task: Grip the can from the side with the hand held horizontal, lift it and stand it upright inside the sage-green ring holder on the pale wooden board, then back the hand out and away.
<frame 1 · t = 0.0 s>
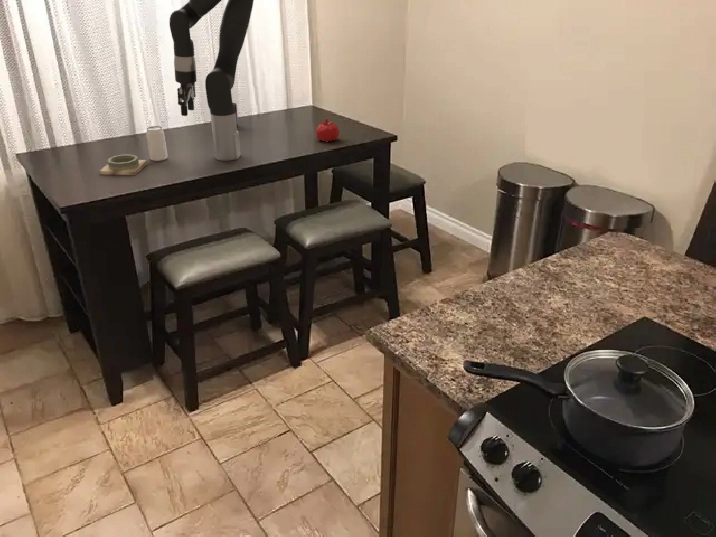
hand: (187, 112, 230), 17 cm above the table, tool pointing down, fingers open, 8 cm apart
can holder: (124, 168, 226), on the table
supplement container: (231, 127, 275), on the table
pomegranate: (327, 140, 259), on the table
can: (159, 159, 236), on the table
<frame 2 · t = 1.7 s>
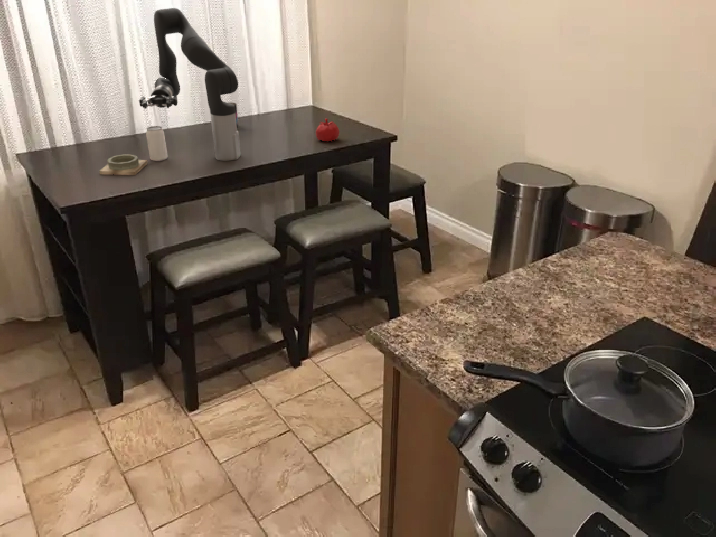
hand: (156, 105, 237), 18 cm above the table, tool horizontal, fingers open, 8 cm apart
nothing on the table moved.
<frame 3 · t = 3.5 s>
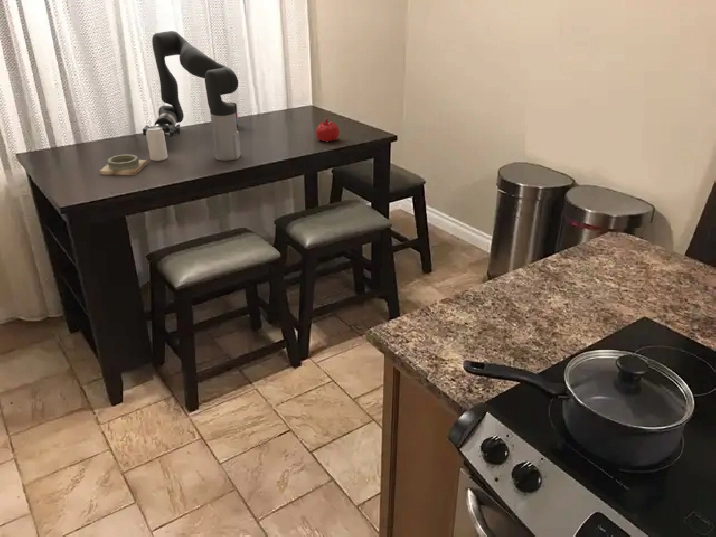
hand: (159, 135, 240), 7 cm above the table, tool horizontal, fingers open, 8 cm apart
nothing on the table moved.
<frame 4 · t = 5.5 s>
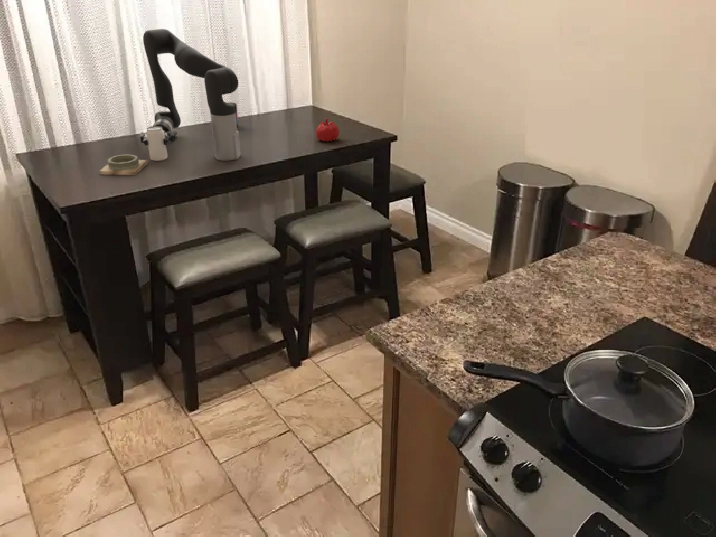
hand: (155, 142, 231), 7 cm above the table, tool horizontal, fingers closed on can, 6 cm apart
can: (159, 159, 236), on the table, touching gripper
everything else where it was.
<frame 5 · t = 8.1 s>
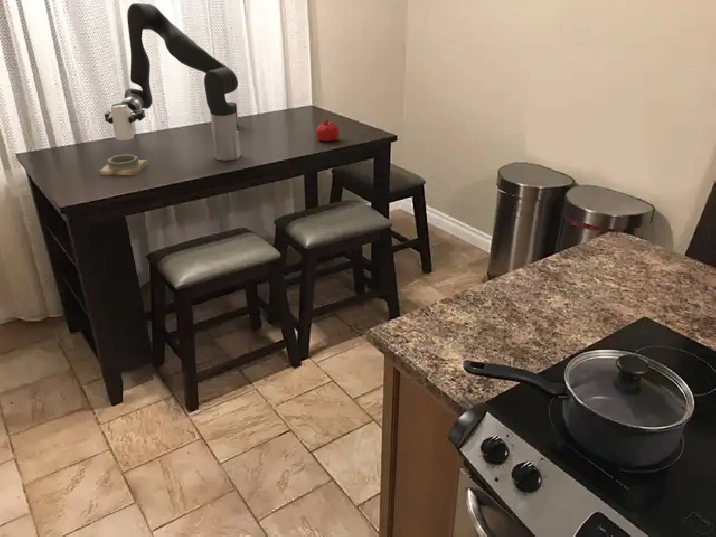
hand: (120, 120, 218), 18 cm above the table, tool horizontal, fingers closed on can, 6 cm apart
can: (125, 138, 223), point 10 cm above the table, touching gripper
everything else where it was.
when the fingers open (9 cm above the table, at t = 10.5 s): can drops 1 cm, resting on can holder.
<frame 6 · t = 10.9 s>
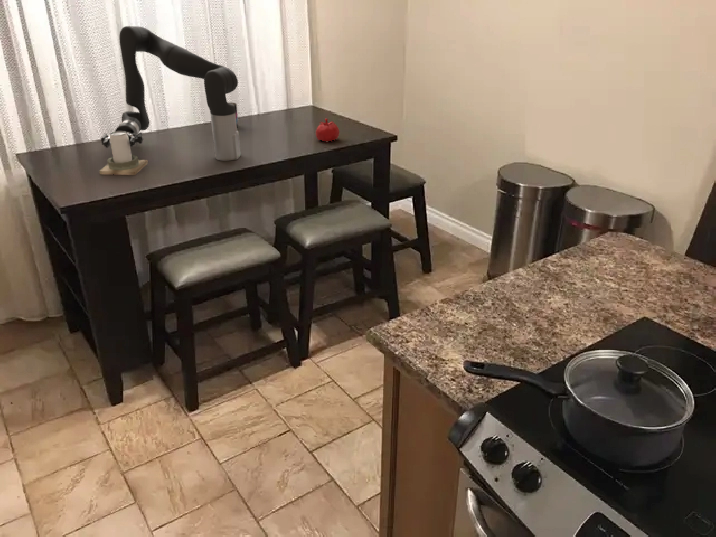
hand: (118, 144, 220), 10 cm above the table, tool horizontal, fingers open, 8 cm apart
can: (124, 165, 226), point 1 cm above the table, touching can holder
everything else where it was.
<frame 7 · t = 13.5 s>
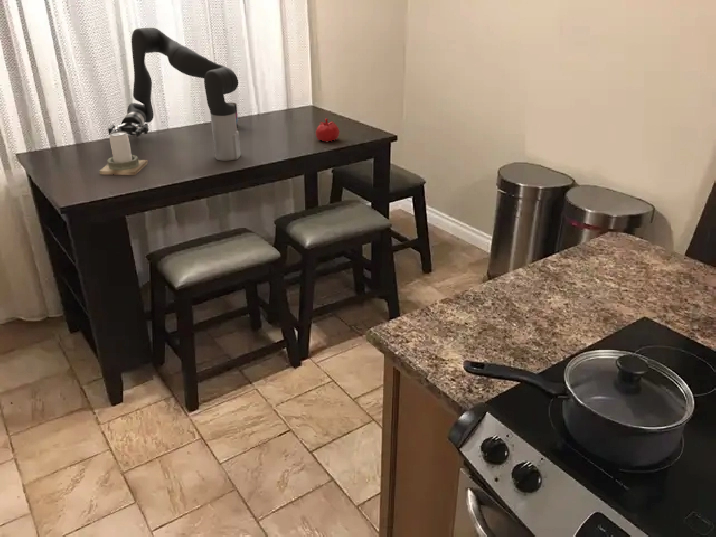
hand: (125, 134, 230), 10 cm above the table, tool horizontal, fingers open, 8 cm apart
nothing on the table moved.
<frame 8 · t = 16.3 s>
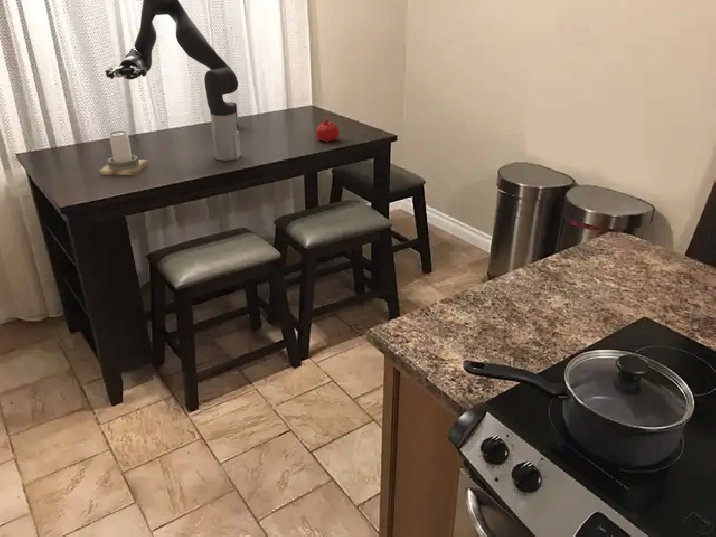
hand: (122, 75, 227), 30 cm above the table, tool horizontal, fingers open, 8 cm apart
nothing on the table moved.
at the end: can 0.2 cm off-centre on the can holder, point 1.0 cm above the can holder's base; can tilted 0°; the gripper is holding nothing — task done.
